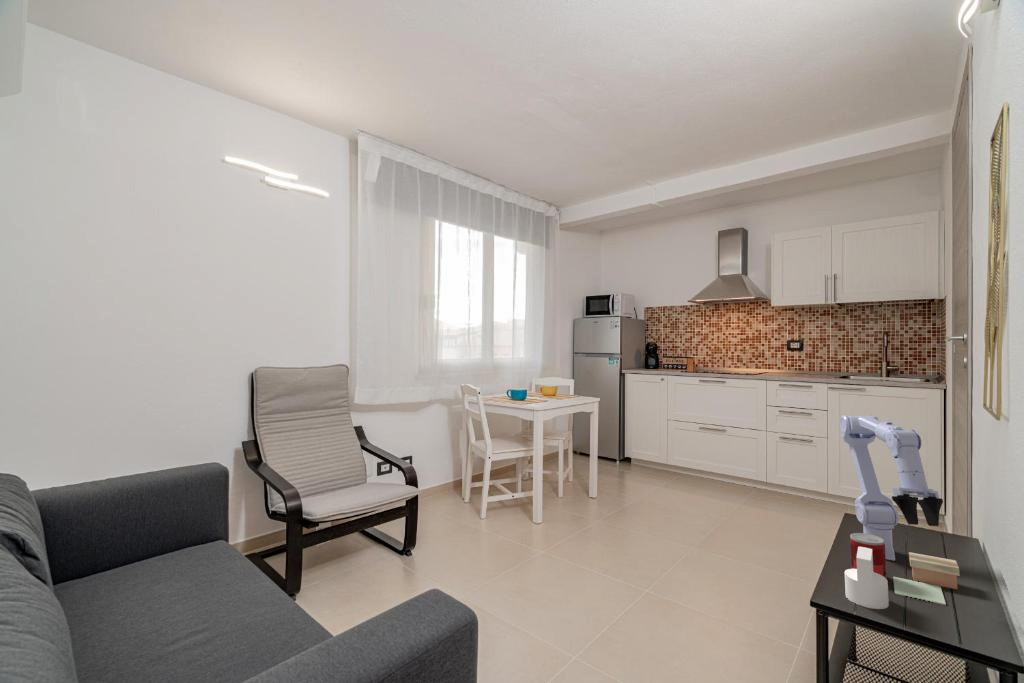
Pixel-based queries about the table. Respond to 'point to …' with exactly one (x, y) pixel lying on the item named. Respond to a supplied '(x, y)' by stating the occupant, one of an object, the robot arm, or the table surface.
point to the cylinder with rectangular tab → (866, 582)
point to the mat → (918, 590)
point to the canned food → (872, 543)
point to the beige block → (934, 563)
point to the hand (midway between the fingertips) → (923, 525)
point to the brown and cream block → (934, 577)
